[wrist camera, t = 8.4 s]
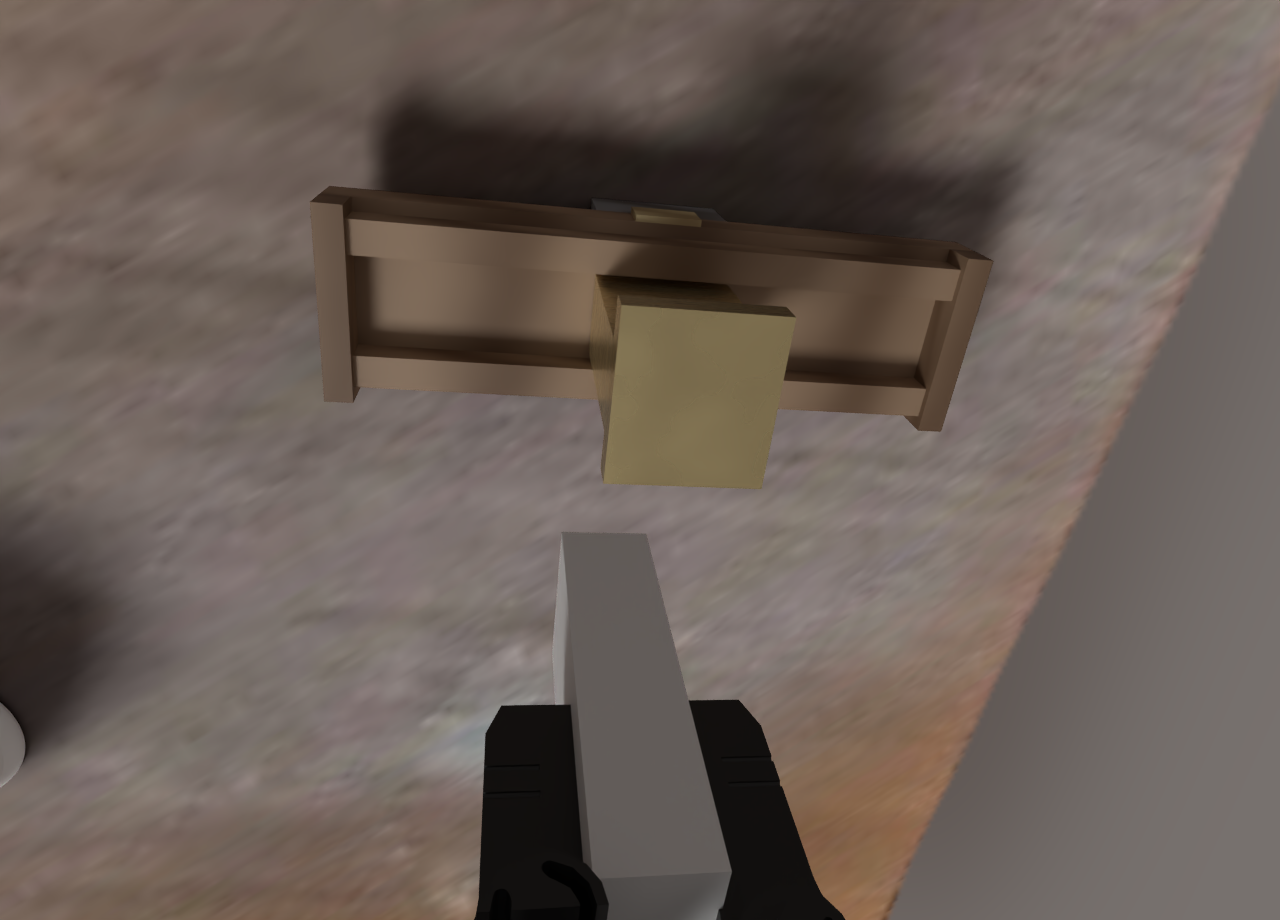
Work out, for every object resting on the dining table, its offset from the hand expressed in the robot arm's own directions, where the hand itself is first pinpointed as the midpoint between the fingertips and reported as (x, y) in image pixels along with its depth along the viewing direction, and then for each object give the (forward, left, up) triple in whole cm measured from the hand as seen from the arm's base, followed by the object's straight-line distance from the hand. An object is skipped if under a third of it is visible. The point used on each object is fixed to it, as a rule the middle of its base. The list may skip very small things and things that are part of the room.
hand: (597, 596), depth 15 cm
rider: (0, +4, -18) cm, 18 cm away
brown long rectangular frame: (0, +4, -22) cm, 22 cm away
